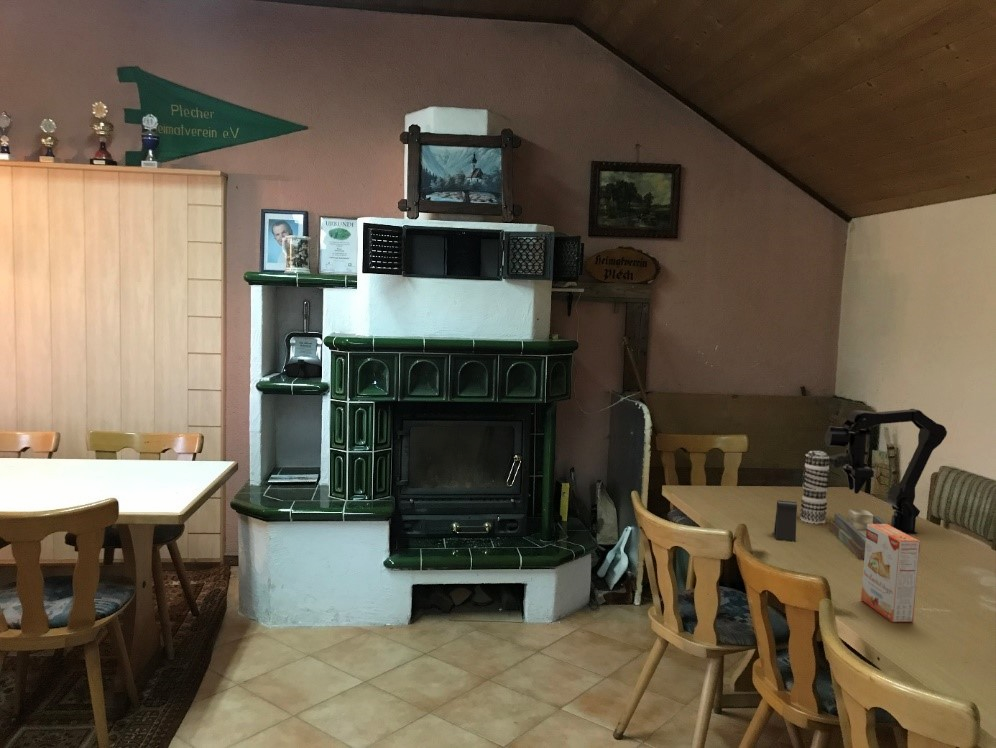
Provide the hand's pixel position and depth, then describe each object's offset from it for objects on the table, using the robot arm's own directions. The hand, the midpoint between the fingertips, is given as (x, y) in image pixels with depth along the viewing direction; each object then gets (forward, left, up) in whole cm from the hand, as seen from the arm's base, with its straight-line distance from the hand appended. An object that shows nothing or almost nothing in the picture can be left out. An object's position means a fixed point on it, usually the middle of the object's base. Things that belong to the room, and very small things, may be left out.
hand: (853, 491), depth 265 cm
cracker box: (+15, +76, -13) cm, 78 cm away
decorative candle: (+11, -6, -13) cm, 18 cm away
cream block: (0, +9, -10) cm, 13 cm away
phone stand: (+26, +17, -13) cm, 33 cm away
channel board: (0, +19, -13) cm, 23 cm away
